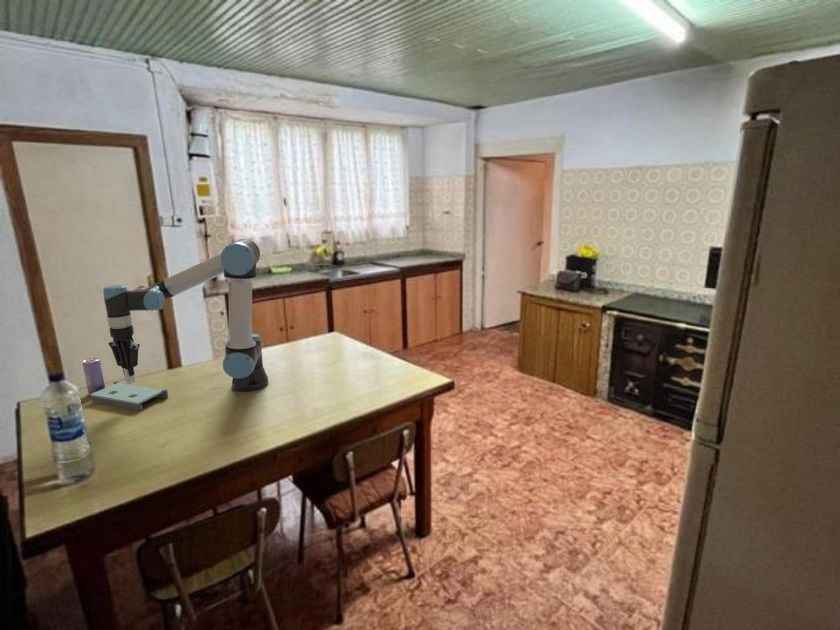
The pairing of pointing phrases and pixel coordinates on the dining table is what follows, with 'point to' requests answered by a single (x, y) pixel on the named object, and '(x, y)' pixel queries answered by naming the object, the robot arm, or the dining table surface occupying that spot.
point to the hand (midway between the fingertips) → (130, 382)
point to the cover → (127, 393)
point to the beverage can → (93, 375)
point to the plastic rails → (127, 405)
